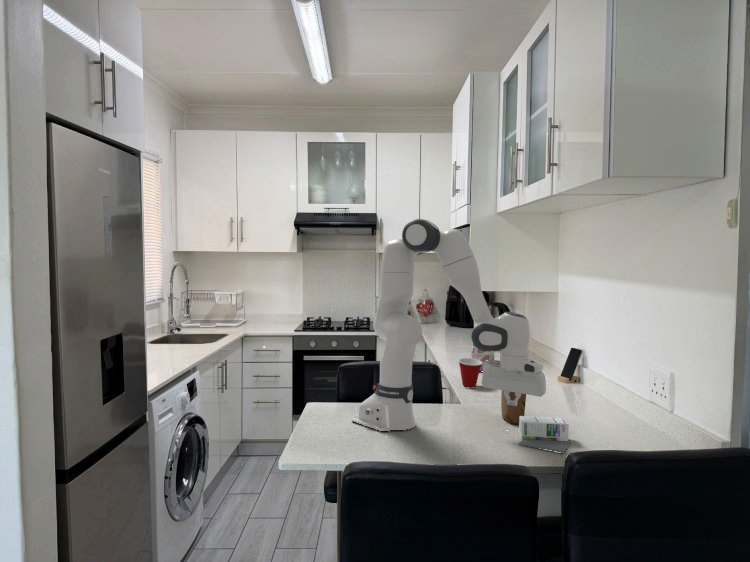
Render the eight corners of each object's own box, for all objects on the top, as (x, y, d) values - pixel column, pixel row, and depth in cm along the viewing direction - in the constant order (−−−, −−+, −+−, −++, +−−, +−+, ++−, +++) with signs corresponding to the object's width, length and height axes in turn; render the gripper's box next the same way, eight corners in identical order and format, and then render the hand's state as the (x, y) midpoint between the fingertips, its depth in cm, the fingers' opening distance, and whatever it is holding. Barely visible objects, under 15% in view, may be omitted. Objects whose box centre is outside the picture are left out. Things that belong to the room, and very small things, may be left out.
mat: (519, 445, 152) (519, 443, 152) (529, 433, 163) (529, 432, 163) (562, 454, 146) (563, 452, 146) (570, 441, 156) (570, 440, 156)
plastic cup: (470, 391, 215) (470, 364, 214) (452, 385, 224) (453, 359, 223) (487, 387, 221) (487, 361, 221) (469, 382, 230) (469, 357, 229)
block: (500, 415, 182) (501, 361, 181) (520, 415, 182) (522, 362, 181) (505, 424, 171) (507, 368, 170) (527, 425, 171) (529, 368, 170)
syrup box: (521, 421, 156) (569, 423, 154) (519, 415, 162) (564, 418, 160) (521, 438, 156) (568, 441, 154) (518, 432, 162) (564, 435, 160)
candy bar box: (472, 372, 251) (473, 340, 250) (470, 370, 256) (471, 339, 255) (494, 372, 251) (495, 340, 250) (492, 370, 256) (492, 339, 255)
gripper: (479, 359, 161) (477, 401, 162) (543, 368, 150) (541, 413, 151) (486, 357, 167) (484, 397, 167) (548, 365, 156) (546, 408, 156)
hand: (512, 405), depth 159 cm, fingers closed
